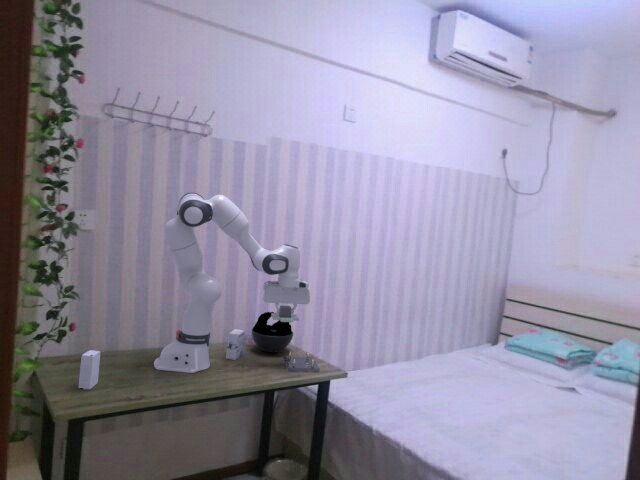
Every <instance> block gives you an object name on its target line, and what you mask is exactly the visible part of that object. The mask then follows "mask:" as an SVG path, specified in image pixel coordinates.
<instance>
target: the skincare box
mask: <svg viewBox="0 0 640 480" xmlns="http://www.w3.org/2000/svg"><path fill="white" fill-rule="evenodd" d="M80 359H81V360H80V367H79V378H78V389H80V388H83V389H82V390H91V389H92V388H94V387H95V386H96V385H97V384H98V383H99V374H100V372H99V371H100V363H101V351H100V350H93V349H92V350H91V349H90V350H88V351H86V352H84V353H83V354H81V358H80Z"/></svg>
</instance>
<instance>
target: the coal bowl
mask: <svg viewBox="0 0 640 480" xmlns="http://www.w3.org/2000/svg"><path fill="white" fill-rule="evenodd" d="M271 313H275V312H274V311H267V312H264V313H261V314H260V315H259V316H258V317H257V321H256V322H255V324H254V326H253V327H252V328H251V337H252V340H253V342H254V344H255V345H256V346H257V347H258V348H259V349H260V350H262V351H264V352H267V353H277V352H280V351H282V350H284V349H286V348H287V347H288V346H289V345H290V343H291V341H292V340H293V336H294V332H293V330H292V325H291V322H281V321H280V320H277V321H276V322H274V323H273V324H272V325H271V324H268V320H270V319H271V318H272V316H271Z"/></svg>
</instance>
